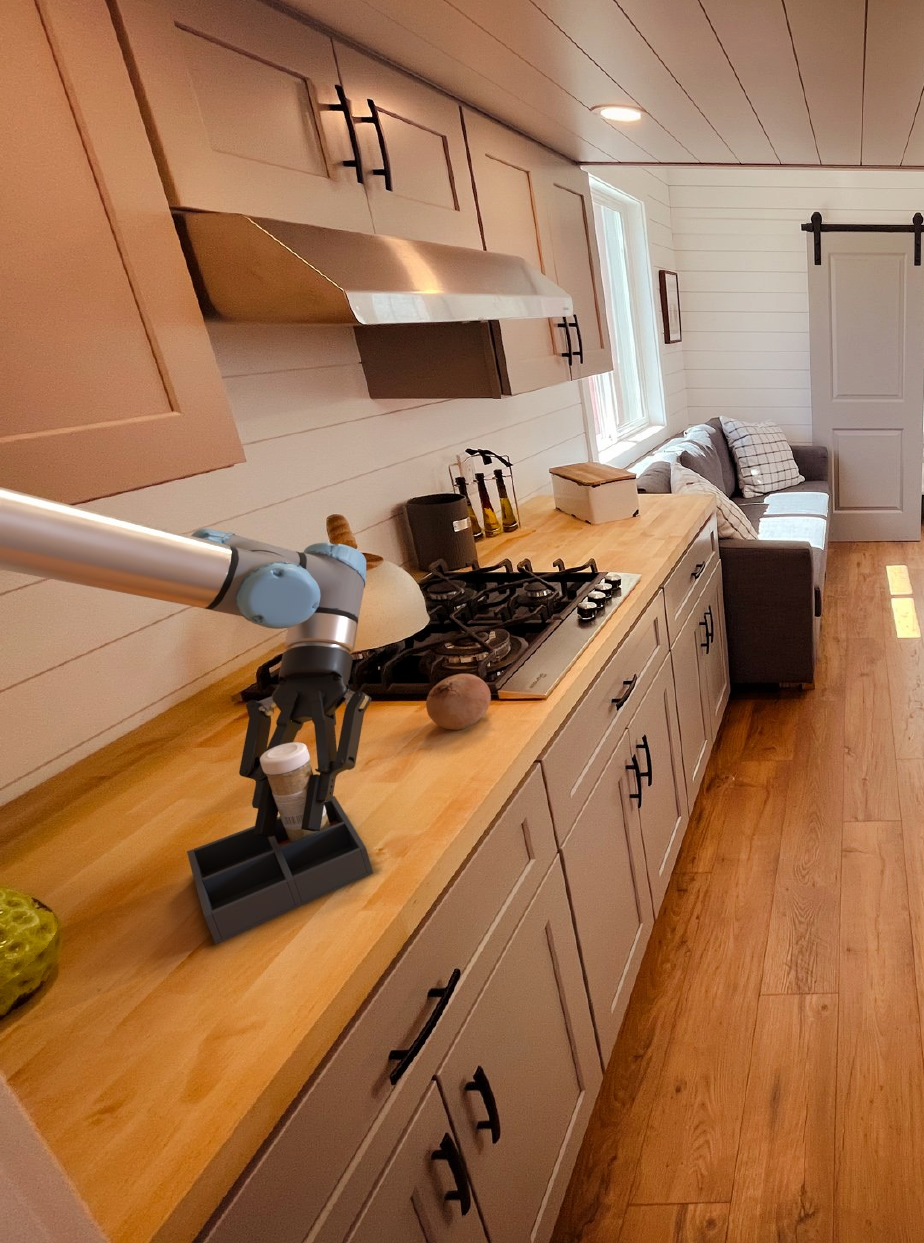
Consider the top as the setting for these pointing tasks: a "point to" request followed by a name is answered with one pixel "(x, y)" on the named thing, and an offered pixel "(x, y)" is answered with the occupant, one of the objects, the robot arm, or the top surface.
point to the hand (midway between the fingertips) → (287, 832)
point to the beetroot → (458, 701)
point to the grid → (274, 872)
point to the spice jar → (290, 785)
